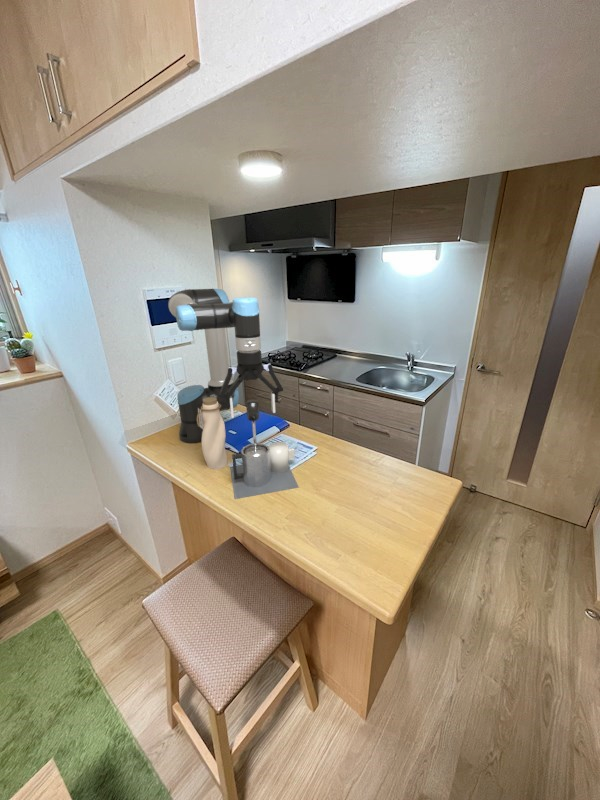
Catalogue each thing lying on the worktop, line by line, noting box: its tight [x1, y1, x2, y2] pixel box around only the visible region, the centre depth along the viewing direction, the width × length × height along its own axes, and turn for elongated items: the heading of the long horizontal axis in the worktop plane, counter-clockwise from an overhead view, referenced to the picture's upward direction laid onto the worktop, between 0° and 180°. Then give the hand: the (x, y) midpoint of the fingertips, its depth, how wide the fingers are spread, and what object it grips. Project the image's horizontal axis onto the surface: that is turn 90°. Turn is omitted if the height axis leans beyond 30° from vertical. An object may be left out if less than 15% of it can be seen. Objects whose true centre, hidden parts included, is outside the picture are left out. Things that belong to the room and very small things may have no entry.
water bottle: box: [197, 397, 228, 471], centre depth 118 cm, size 10×9×28 cm
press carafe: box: [231, 442, 271, 487], centre depth 111 cm, size 10×13×12 cm
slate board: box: [229, 464, 300, 500], centre depth 116 cm, size 20×22×1 cm
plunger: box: [245, 398, 266, 456], centre depth 107 cm, size 7×7×19 cm
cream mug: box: [268, 441, 296, 473], centre depth 119 cm, size 8×10×9 cm
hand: (253, 413), depth 105 cm, fingers open, 13 cm apart
